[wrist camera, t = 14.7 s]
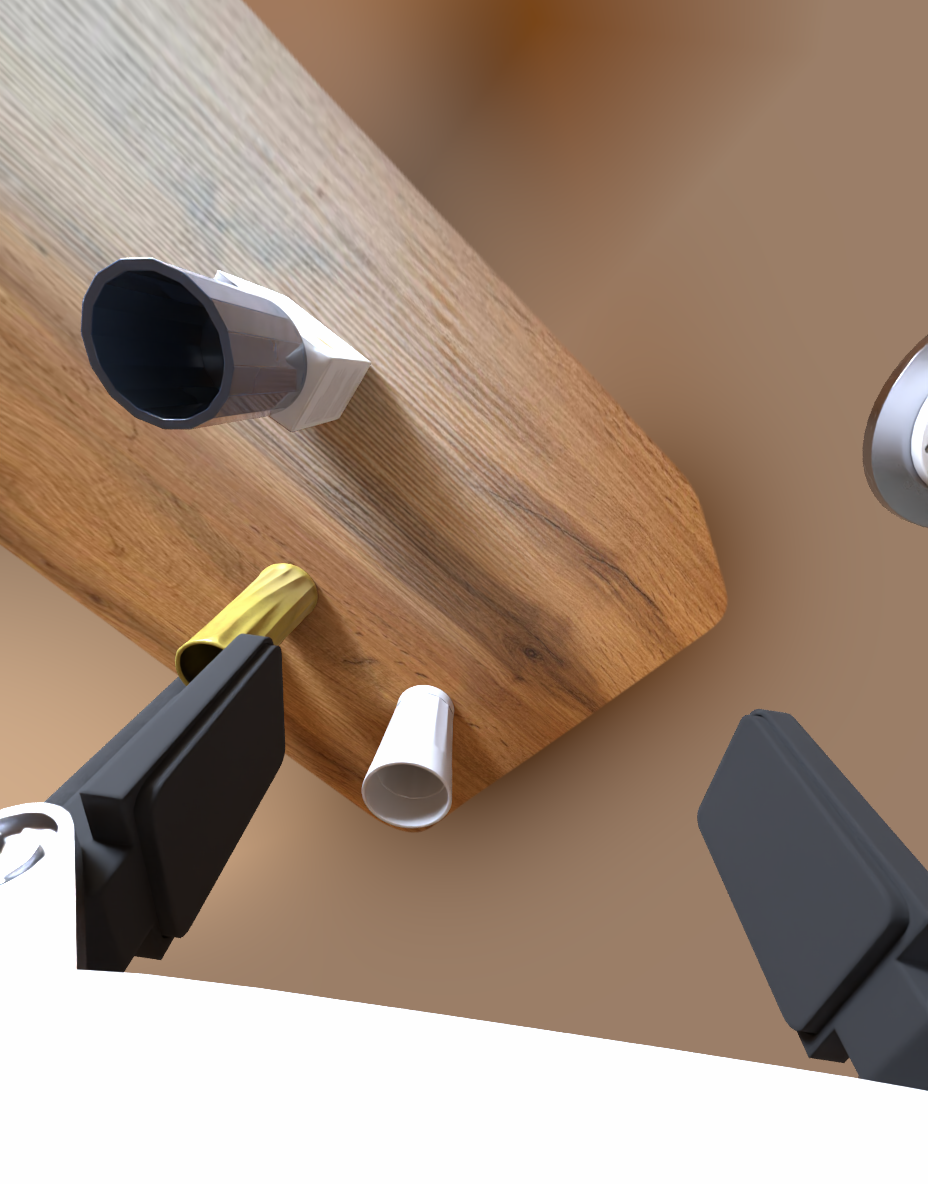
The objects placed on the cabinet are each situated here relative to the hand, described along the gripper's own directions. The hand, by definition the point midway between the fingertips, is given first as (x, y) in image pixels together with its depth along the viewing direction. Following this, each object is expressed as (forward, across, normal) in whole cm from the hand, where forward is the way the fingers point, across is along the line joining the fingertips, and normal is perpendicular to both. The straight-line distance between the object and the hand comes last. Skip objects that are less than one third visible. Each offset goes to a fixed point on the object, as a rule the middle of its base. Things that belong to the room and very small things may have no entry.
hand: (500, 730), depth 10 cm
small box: (+34, +16, -6) cm, 38 cm away
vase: (+34, +19, +16) cm, 42 cm away
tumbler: (+24, +16, -6) cm, 29 cm away
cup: (+34, +4, +28) cm, 44 cm away
